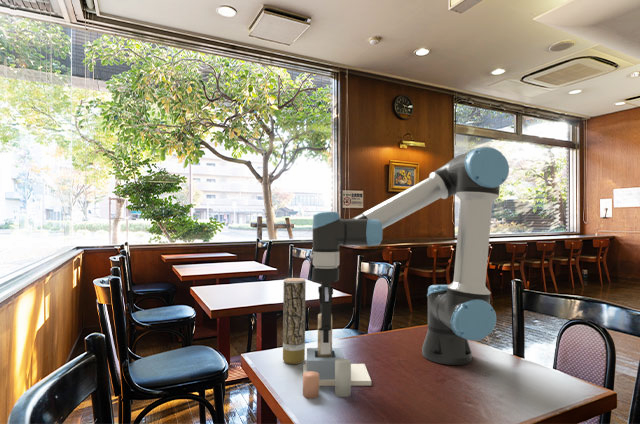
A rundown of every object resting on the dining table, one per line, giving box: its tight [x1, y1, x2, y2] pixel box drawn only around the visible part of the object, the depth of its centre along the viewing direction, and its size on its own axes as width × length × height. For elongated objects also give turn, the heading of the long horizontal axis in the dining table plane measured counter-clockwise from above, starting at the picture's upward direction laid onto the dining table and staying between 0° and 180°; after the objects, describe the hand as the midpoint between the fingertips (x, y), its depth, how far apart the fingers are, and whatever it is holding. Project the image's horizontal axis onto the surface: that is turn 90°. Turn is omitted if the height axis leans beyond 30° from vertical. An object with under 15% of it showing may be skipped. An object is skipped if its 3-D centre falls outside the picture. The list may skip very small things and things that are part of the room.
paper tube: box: [282, 277, 307, 365], centre depth 117 cm, size 7×7×25 cm
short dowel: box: [302, 371, 320, 399], centre depth 94 cm, size 4×4×5 cm
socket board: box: [302, 347, 372, 387], centre depth 105 cm, size 18×12×6 cm, turn 92°
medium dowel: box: [334, 357, 352, 398], centre depth 95 cm, size 4×4×8 cm
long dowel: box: [317, 313, 333, 358], centre depth 105 cm, size 4×4×14 cm
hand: (325, 350), depth 105 cm, fingers closed on long dowel, 4 cm apart
